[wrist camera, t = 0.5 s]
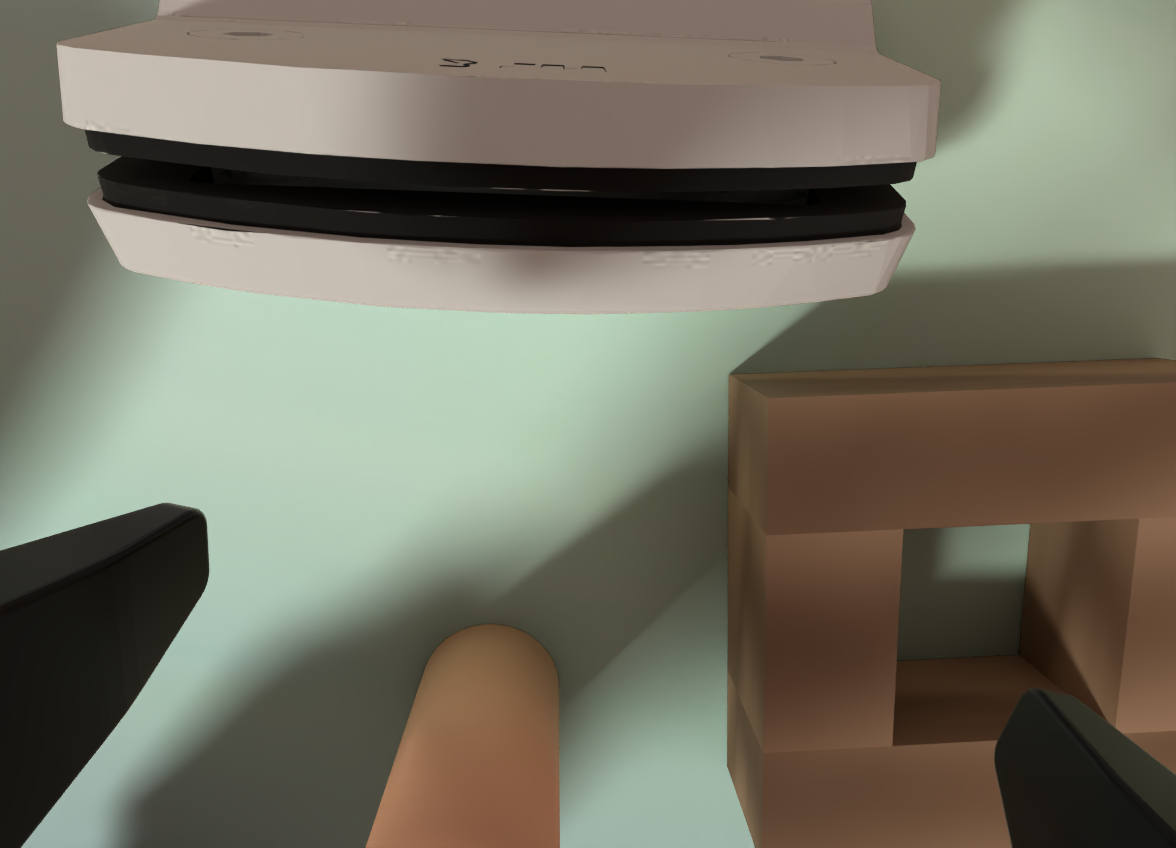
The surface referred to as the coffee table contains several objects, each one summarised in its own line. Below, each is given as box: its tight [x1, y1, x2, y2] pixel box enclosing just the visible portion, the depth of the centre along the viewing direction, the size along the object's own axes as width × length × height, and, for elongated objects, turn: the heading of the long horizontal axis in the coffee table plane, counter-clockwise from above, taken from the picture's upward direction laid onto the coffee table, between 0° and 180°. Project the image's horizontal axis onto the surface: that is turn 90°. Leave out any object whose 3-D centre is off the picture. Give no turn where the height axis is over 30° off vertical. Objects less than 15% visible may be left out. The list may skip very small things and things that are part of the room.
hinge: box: [56, 0, 941, 314], centre depth 16 cm, size 17×5×10 cm, turn 88°
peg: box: [366, 624, 560, 848], centre depth 19 cm, size 4×4×8 cm
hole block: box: [727, 358, 1176, 848], centre depth 20 cm, size 12×12×4 cm
